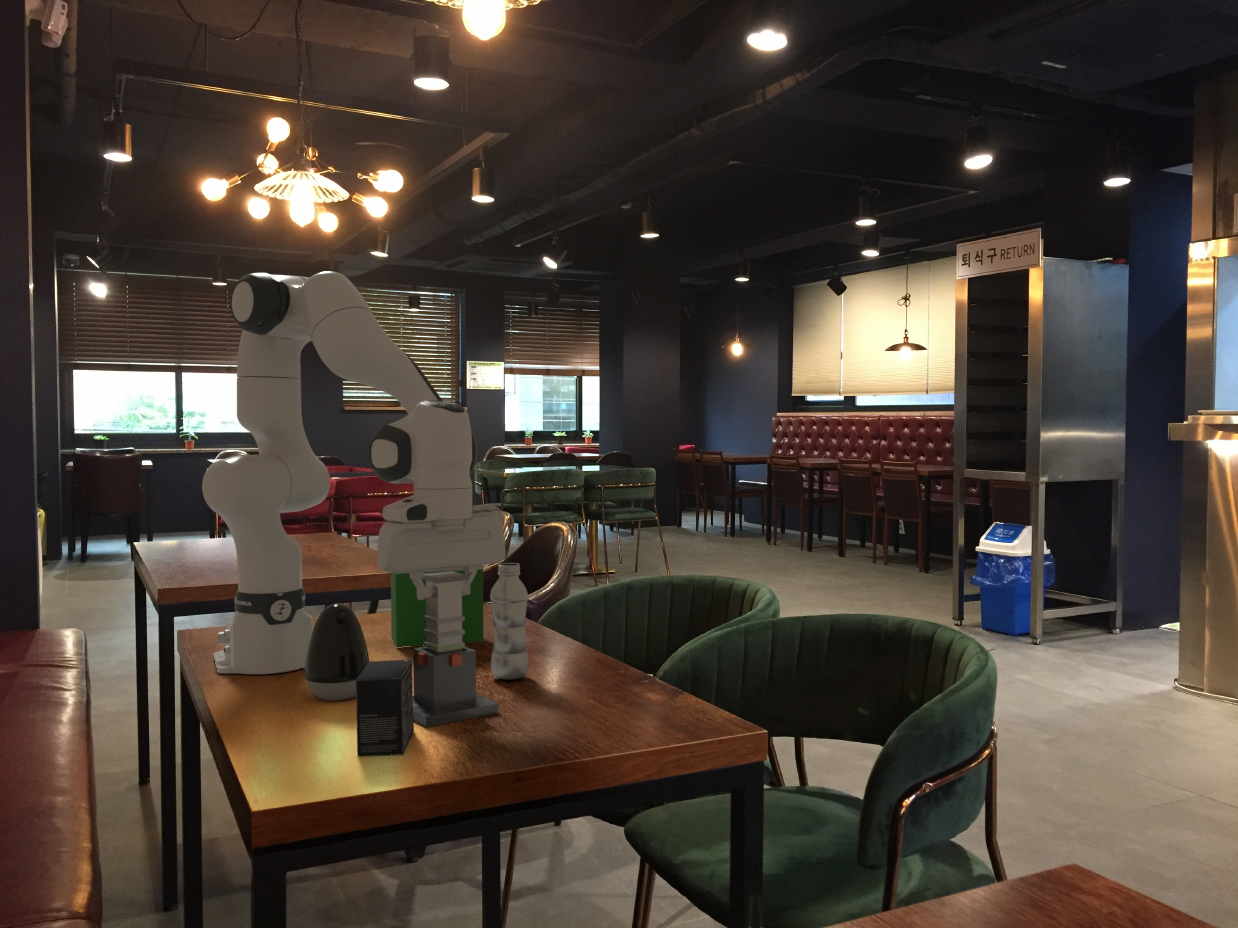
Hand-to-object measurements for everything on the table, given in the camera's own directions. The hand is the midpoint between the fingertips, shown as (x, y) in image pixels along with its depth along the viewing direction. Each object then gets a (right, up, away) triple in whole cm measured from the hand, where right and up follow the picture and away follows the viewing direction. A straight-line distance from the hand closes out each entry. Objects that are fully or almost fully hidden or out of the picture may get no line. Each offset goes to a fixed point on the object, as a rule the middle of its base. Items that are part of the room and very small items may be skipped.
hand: (443, 596), depth 147 cm
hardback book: (-11, -17, +51) cm, 55 cm away
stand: (0, -18, 0) cm, 18 cm away
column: (0, -11, 0) cm, 11 cm away
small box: (-5, -18, -15) cm, 24 cm away
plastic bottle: (+8, -17, +20) cm, 28 cm away
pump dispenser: (-19, -18, +9) cm, 27 cm away
